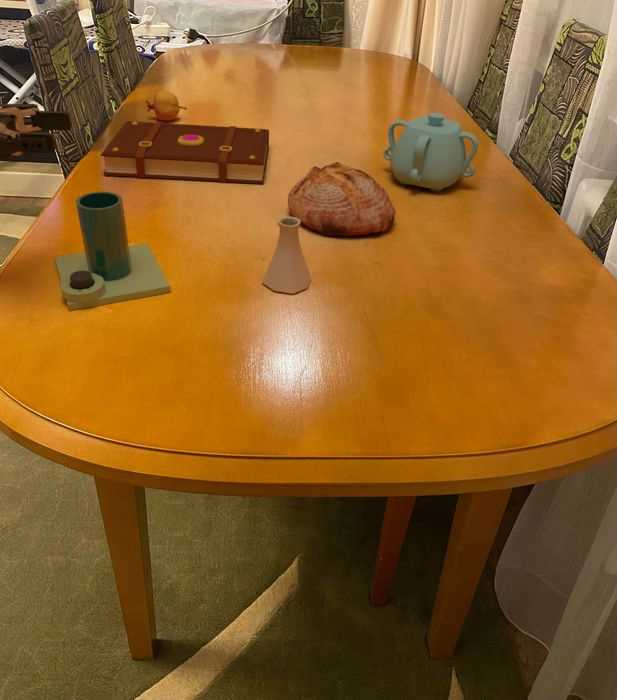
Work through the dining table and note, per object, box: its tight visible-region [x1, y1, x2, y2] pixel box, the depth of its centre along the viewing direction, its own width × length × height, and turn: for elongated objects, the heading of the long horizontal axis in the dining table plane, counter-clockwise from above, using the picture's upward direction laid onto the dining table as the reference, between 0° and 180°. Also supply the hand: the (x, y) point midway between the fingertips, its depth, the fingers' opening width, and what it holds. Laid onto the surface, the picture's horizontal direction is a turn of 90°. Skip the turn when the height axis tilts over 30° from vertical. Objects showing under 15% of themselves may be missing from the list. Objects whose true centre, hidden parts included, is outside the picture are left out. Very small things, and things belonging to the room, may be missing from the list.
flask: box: [261, 215, 312, 295], centre depth 89 cm, size 7×7×10 cm
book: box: [100, 120, 270, 185], centre depth 127 cm, size 23×32×5 cm
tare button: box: [70, 271, 93, 290], centre depth 83 cm, size 3×3×2 cm
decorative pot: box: [383, 112, 479, 192], centre depth 124 cm, size 16×16×14 cm
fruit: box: [144, 89, 188, 122], centre depth 148 cm, size 7×7×10 cm
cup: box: [75, 191, 131, 281], centre depth 86 cm, size 6×6×11 cm
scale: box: [54, 242, 172, 312], centre depth 89 cm, size 14×14×2 cm
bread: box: [287, 161, 396, 237], centre depth 108 cm, size 16×20×10 cm
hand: (62, 131), depth 75 cm, fingers open, 8 cm apart
